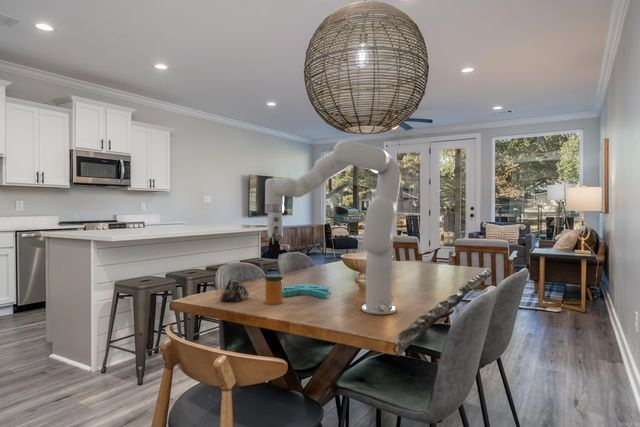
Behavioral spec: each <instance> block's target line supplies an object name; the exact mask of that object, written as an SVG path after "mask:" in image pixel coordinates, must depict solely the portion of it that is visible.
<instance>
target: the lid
mask: <svg viewBox="0 0 640 427" xmlns="http://www.w3.org/2000/svg"><path fill="white" fill-rule="evenodd" d="M283 277H284V276H283V275H282V274H281V273H280V274H279V273H269V274H265V276H264V280H265V281H266V280H267V281H280V280H282V281H283V279H284V278H283Z"/></svg>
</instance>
